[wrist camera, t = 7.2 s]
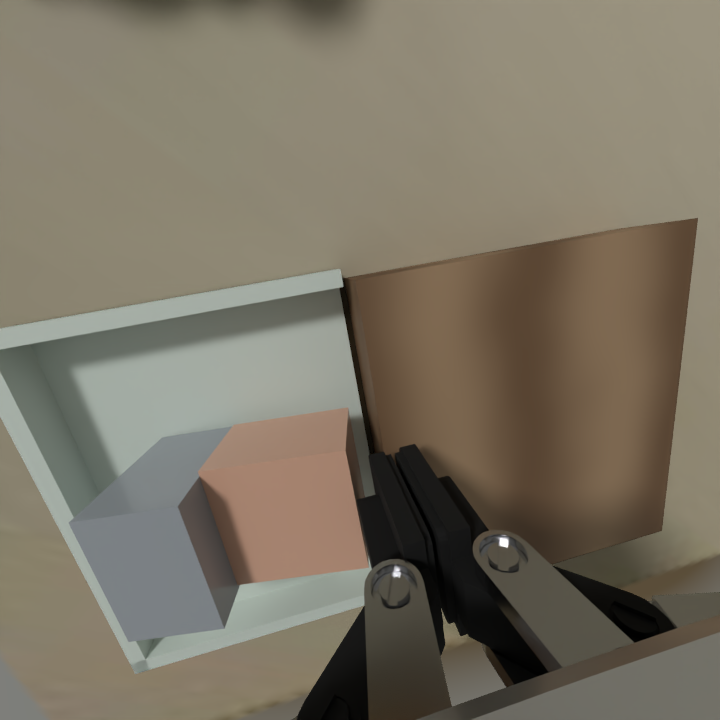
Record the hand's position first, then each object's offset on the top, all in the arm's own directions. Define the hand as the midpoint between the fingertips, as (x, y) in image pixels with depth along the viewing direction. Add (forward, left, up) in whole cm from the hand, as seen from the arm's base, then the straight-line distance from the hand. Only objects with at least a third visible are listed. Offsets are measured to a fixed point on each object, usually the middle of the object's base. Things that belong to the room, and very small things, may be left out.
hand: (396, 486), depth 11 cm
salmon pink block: (+3, 0, -2) cm, 4 cm away
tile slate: (+6, 0, -1) cm, 6 cm away
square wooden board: (-6, 0, -4) cm, 7 cm away
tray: (+6, 0, -4) cm, 7 cm away
